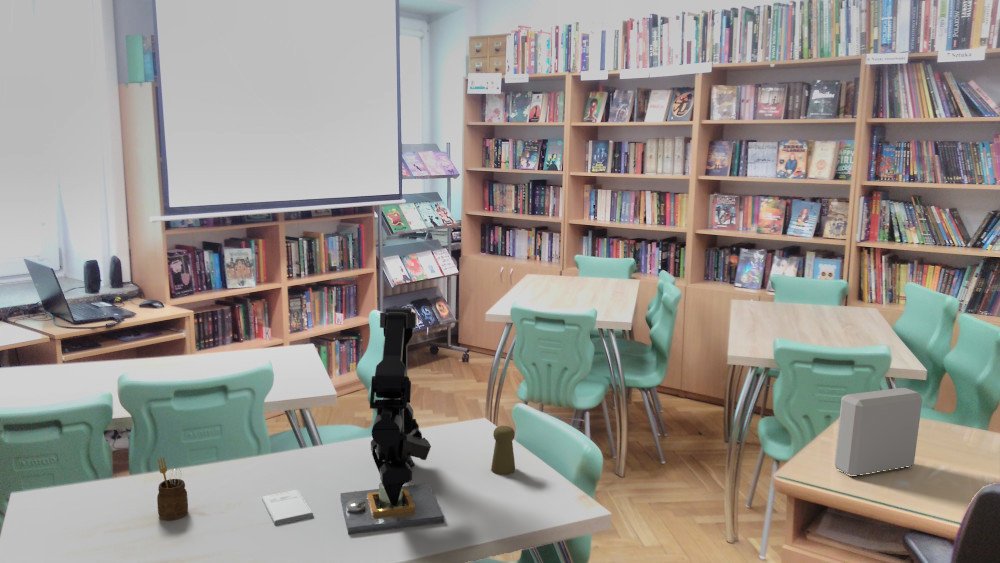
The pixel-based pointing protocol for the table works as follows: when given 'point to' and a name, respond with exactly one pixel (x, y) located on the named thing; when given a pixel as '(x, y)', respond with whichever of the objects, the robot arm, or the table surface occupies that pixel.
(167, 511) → the utensil holder
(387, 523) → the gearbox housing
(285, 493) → the external hard drive
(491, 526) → the table surface
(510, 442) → the cork
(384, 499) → the can
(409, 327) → the robot arm
